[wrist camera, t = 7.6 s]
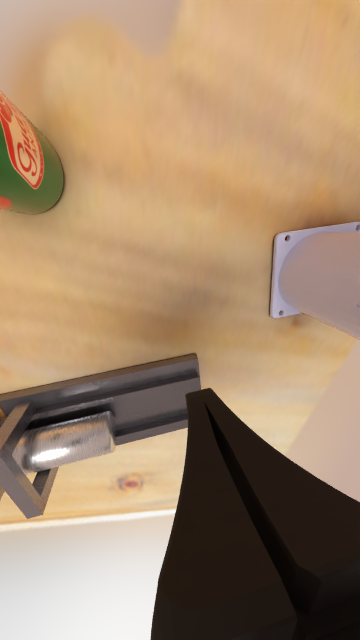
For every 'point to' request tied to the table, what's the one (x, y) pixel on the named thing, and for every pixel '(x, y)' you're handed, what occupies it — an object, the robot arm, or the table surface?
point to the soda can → (26, 164)
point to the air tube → (66, 442)
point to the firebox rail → (88, 399)
